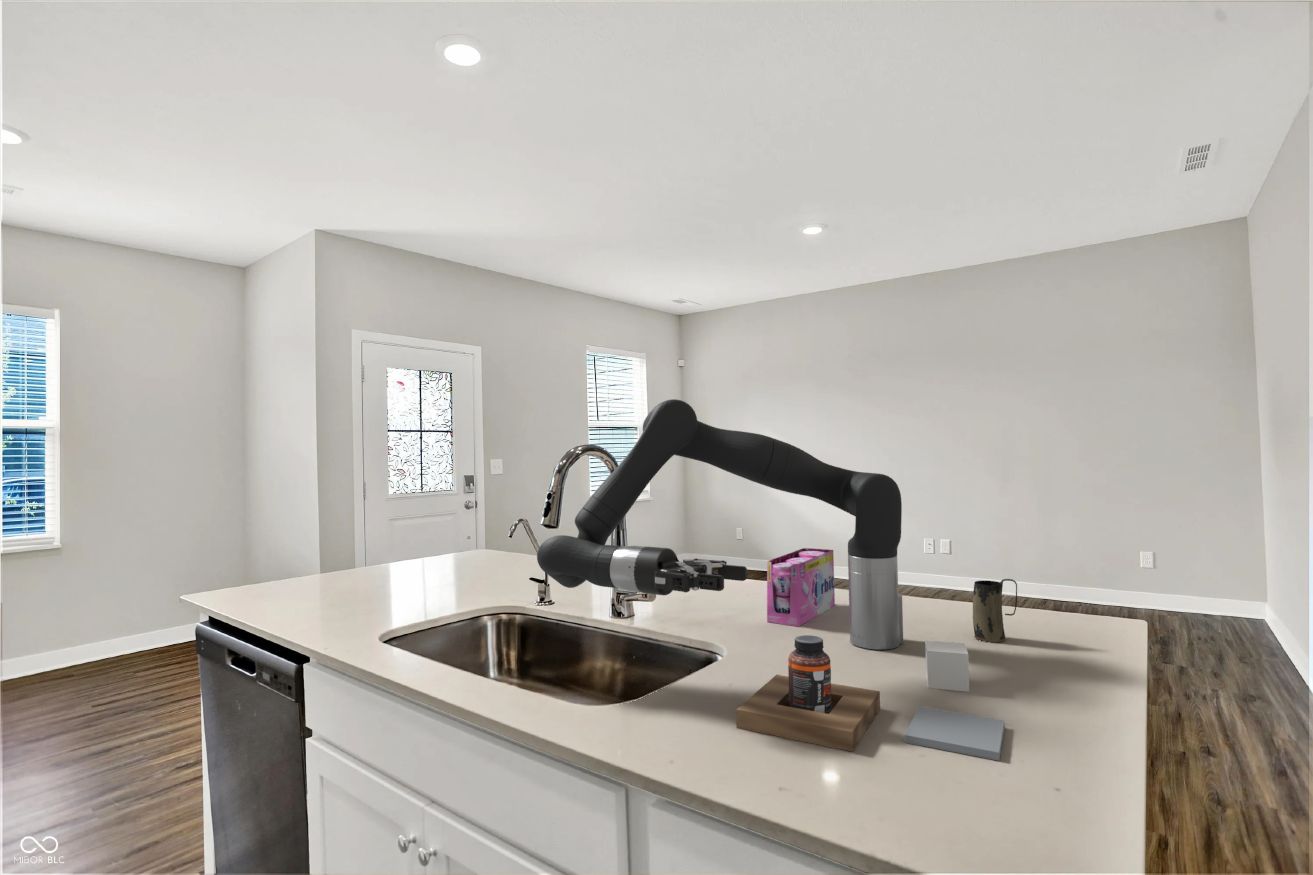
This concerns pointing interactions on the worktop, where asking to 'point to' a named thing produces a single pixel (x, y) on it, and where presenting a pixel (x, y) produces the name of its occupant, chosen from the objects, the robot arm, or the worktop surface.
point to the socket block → (810, 715)
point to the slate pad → (956, 732)
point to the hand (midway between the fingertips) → (735, 578)
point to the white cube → (947, 665)
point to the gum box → (800, 586)
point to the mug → (989, 611)
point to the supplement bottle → (809, 675)
